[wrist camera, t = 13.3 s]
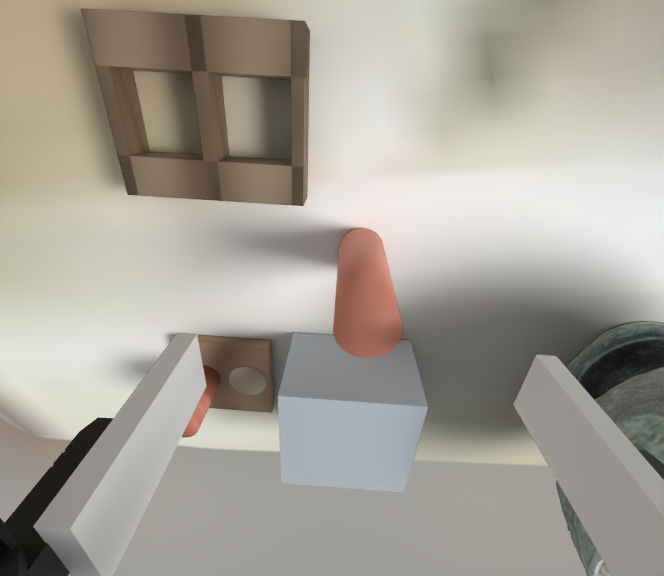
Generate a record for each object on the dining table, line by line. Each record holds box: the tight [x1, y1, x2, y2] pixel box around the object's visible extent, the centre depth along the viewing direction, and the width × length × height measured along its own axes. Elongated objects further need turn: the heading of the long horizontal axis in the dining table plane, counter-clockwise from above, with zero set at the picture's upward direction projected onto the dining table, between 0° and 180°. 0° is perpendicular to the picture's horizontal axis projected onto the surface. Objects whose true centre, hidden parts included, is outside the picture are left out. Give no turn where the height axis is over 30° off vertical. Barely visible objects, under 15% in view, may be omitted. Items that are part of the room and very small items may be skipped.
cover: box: [278, 332, 428, 492], centre depth 27 cm, size 10×10×7 cm
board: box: [182, 335, 274, 437], centre depth 28 cm, size 8×8×6 cm
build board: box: [81, 9, 310, 206], centre depth 19 cm, size 11×9×2 cm
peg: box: [333, 228, 403, 358], centre depth 19 cm, size 3×3×10 cm
